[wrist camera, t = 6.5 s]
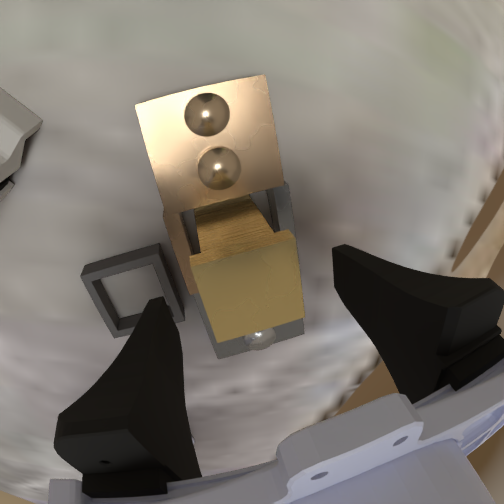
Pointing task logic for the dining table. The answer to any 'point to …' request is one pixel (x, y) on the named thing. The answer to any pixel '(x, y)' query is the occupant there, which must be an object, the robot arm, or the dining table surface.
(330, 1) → the dining table surface
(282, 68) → the dining table surface
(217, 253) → the pin
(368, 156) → the dining table surface
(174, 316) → the gray square frame
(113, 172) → the dining table surface
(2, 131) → the off-white striped device
